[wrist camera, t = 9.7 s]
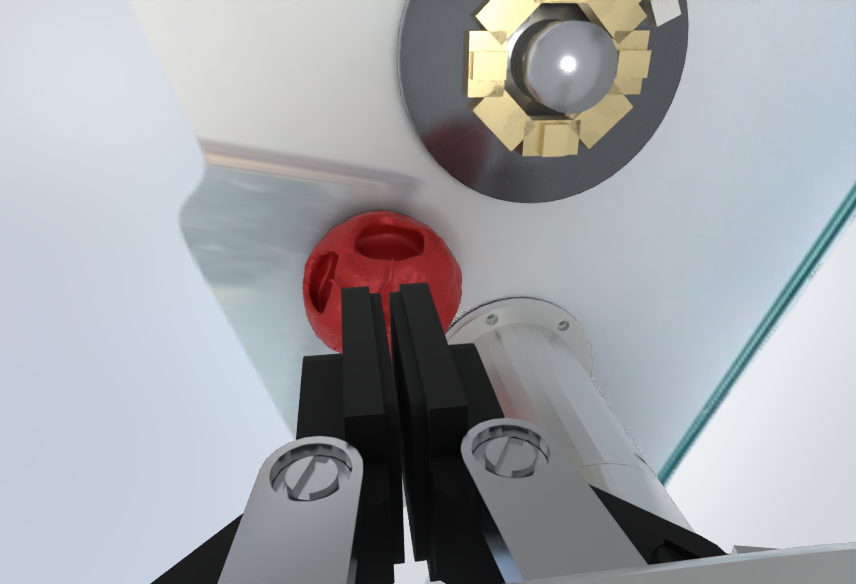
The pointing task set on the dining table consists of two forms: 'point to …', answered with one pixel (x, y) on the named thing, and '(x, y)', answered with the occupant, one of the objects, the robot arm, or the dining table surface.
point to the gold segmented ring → (550, 134)
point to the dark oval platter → (534, 92)
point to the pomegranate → (377, 269)
